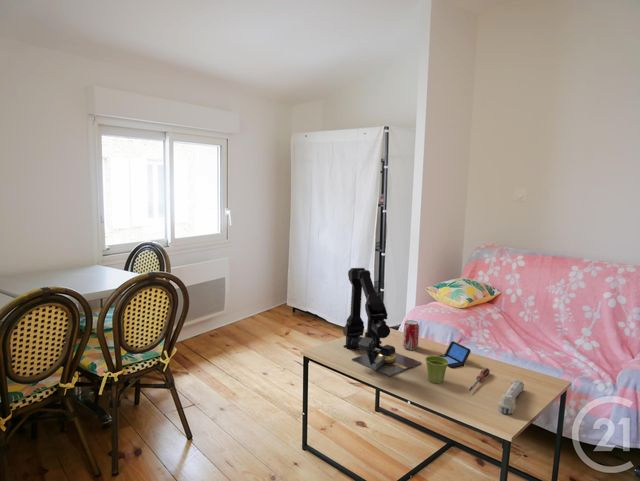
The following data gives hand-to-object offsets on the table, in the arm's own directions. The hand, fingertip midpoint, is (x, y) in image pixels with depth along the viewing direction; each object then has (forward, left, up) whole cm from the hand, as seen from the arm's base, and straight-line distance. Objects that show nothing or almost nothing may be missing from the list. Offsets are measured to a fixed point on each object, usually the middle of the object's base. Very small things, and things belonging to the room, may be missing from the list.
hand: (371, 365), depth 189 cm
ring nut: (0, +7, -1) cm, 7 cm away
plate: (-1, +11, -2) cm, 12 cm away
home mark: (+6, +11, -2) cm, 13 cm away
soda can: (-5, +34, -2) cm, 35 cm away
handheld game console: (+17, +35, -2) cm, 39 cm away
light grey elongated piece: (+52, +20, -2) cm, 55 cm away
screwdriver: (+36, +24, -2) cm, 43 cm away
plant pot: (+24, +12, -2) cm, 27 cm away
